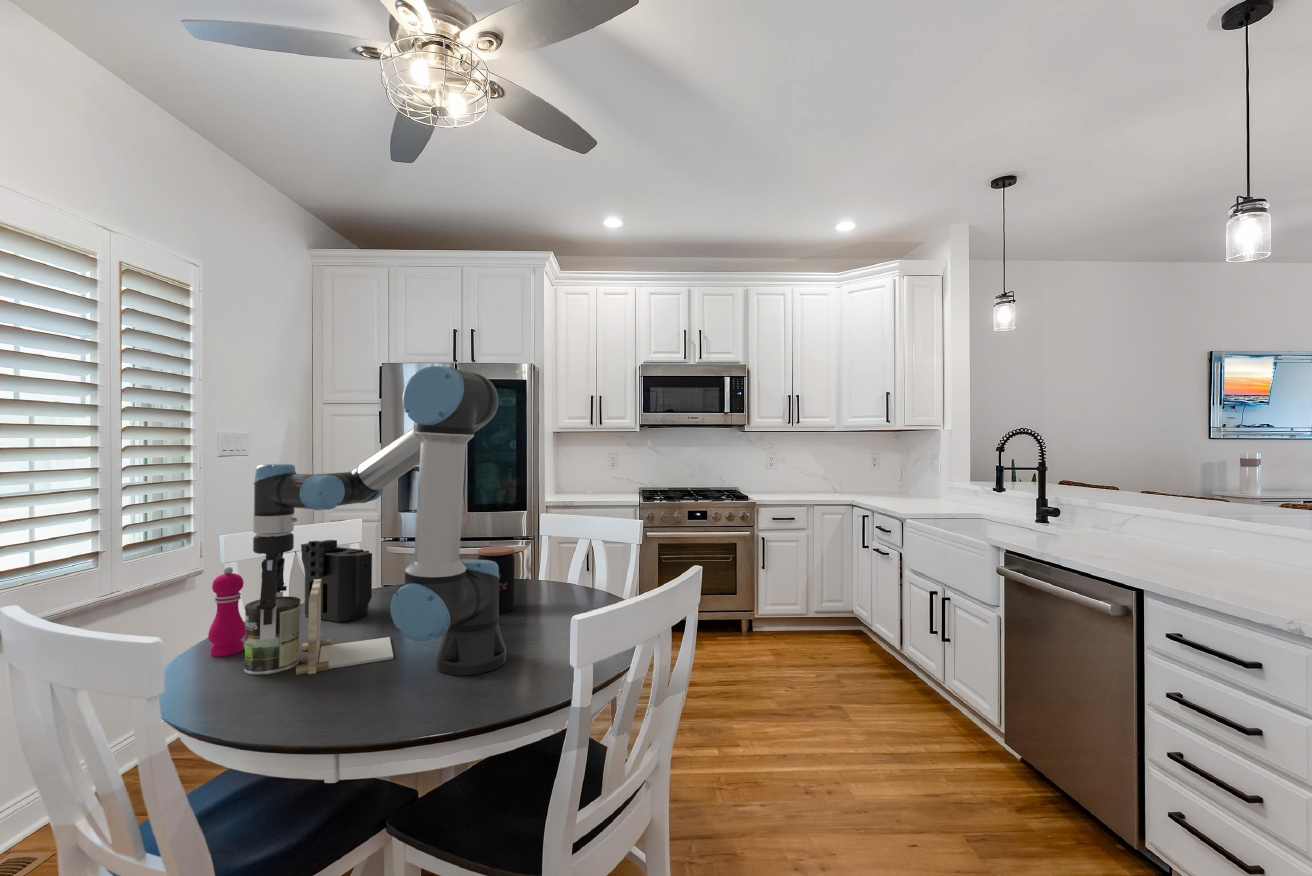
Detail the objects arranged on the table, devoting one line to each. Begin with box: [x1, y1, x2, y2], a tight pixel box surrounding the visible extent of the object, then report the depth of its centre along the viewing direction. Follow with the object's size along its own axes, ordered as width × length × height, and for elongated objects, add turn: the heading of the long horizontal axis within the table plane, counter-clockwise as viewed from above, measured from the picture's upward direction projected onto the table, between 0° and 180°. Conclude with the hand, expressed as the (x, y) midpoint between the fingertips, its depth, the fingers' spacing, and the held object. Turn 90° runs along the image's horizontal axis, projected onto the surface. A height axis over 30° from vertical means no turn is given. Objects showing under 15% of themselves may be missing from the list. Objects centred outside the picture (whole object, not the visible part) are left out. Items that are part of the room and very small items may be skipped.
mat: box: [318, 636, 394, 670], centre depth 137 cm, size 15×15×1 cm
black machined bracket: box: [300, 539, 373, 623], centre depth 166 cm, size 12×21×22 cm, turn 67°
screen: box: [295, 579, 332, 676], centre depth 134 cm, size 20×6×16 cm, turn 28°
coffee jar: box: [477, 545, 516, 614], centre depth 173 cm, size 11×11×18 cm
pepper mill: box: [207, 566, 245, 658], centre depth 138 cm, size 7×7×20 cm
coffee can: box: [244, 596, 301, 676], centre depth 129 cm, size 10×10×14 cm
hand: (271, 629), depth 129 cm, fingers open, 13 cm apart
